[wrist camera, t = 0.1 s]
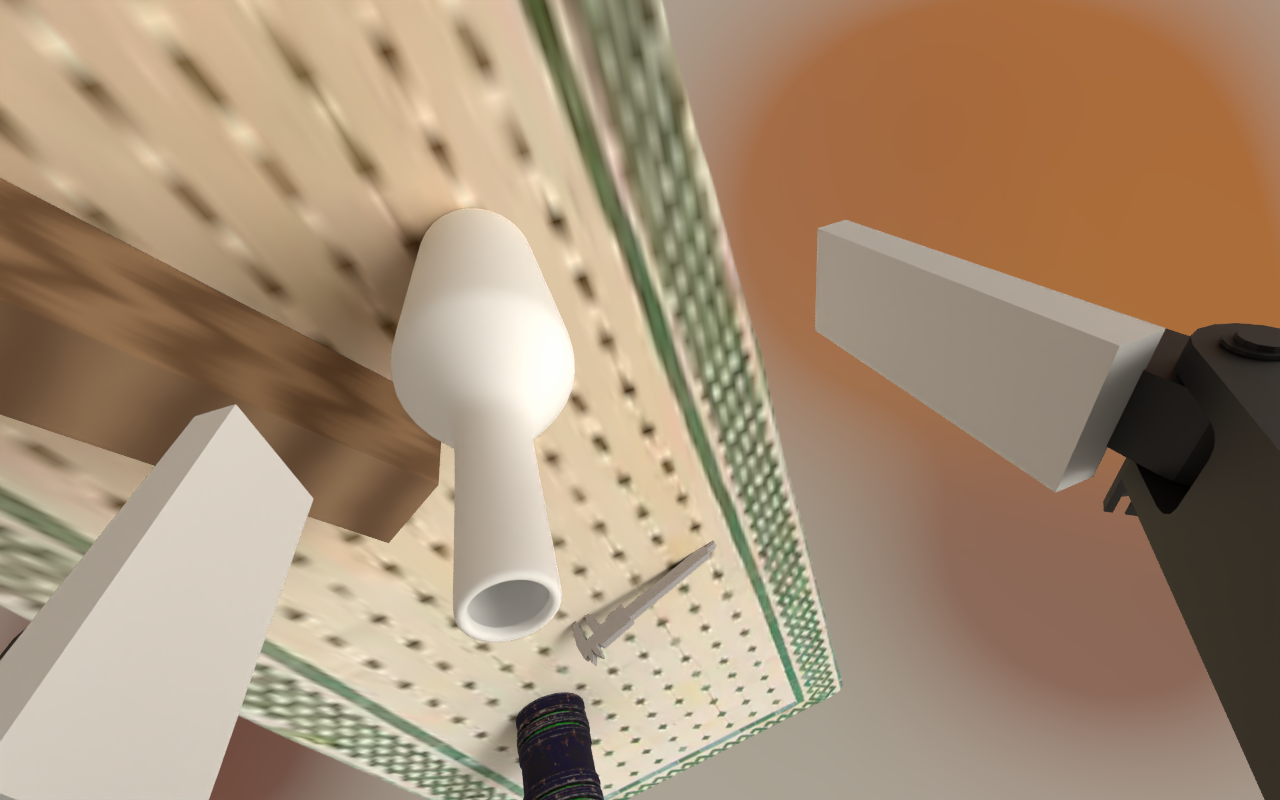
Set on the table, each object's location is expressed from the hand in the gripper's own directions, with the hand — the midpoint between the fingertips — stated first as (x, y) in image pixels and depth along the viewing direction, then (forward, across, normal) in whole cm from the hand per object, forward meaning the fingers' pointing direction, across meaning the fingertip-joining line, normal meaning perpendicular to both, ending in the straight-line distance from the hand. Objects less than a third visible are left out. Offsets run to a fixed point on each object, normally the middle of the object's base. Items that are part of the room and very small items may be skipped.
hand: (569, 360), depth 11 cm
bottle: (+28, -3, -5) cm, 29 cm away
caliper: (+28, +2, -48) cm, 56 cm away
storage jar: (+28, -16, -68) cm, 75 cm away
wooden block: (+28, -21, -5) cm, 35 cm away
